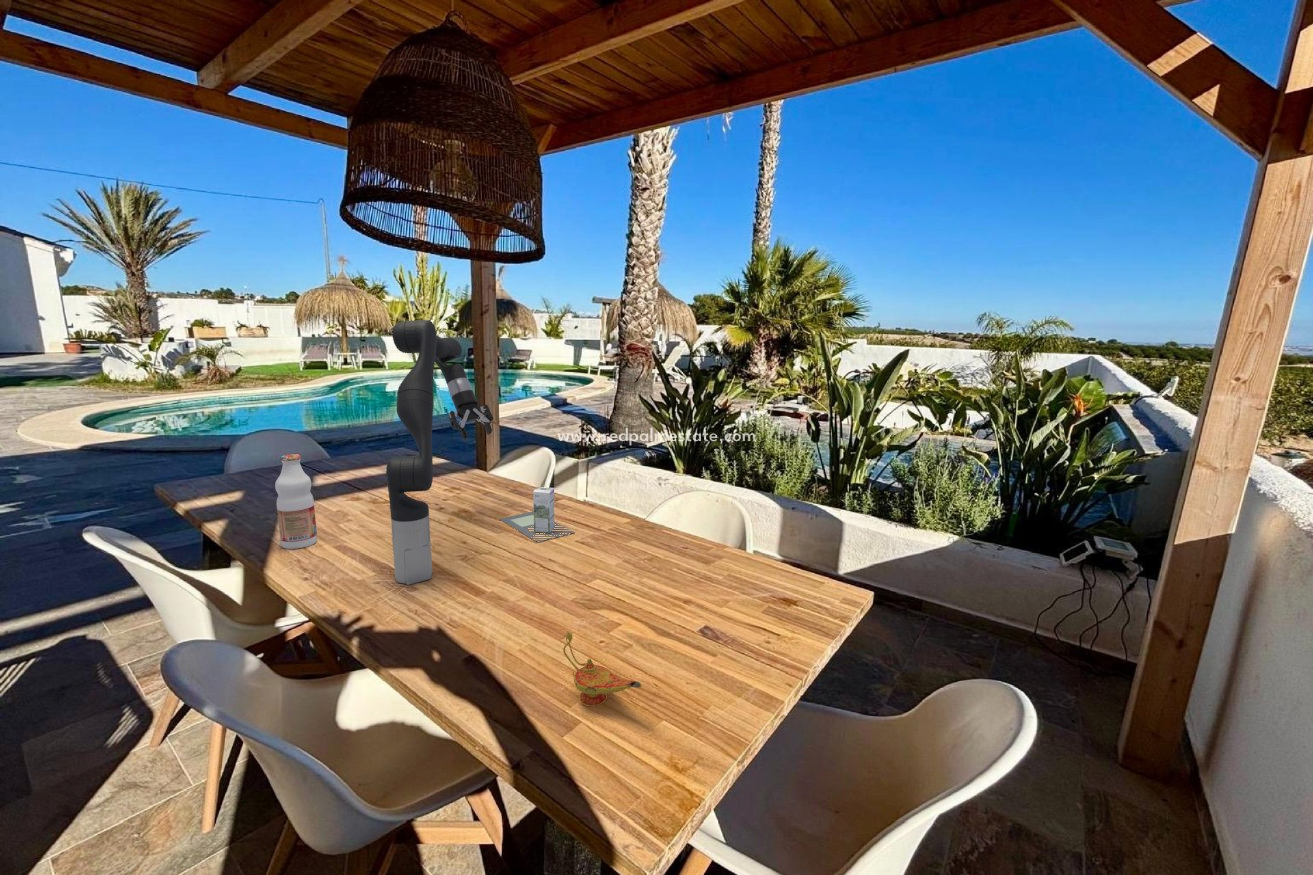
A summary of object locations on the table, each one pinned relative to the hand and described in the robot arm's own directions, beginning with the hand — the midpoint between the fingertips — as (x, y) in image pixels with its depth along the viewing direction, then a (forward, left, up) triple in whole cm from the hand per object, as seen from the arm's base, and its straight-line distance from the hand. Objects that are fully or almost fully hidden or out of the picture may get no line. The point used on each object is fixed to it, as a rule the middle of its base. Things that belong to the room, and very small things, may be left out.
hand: (478, 436), depth 181 cm
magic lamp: (-103, +22, -31) cm, 110 cm away
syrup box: (-21, -13, -31) cm, 40 cm away
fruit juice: (+15, +52, -31) cm, 62 cm away
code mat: (-15, -13, -31) cm, 37 cm away
